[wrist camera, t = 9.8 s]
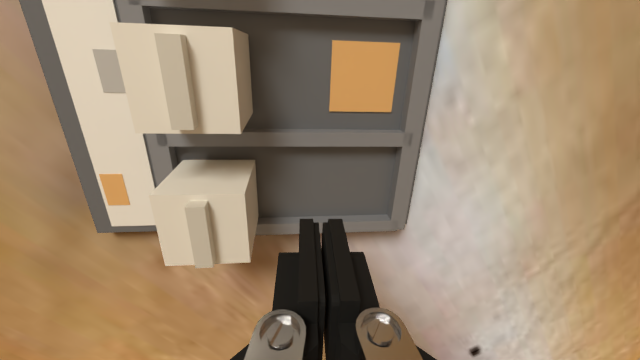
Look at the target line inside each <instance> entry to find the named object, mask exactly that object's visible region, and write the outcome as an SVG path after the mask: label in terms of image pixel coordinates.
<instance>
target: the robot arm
mask: <svg viewBox="0 0 640 360" xmlns="http://www.w3.org/2000/svg"><path fill="white" fill-rule="evenodd" d="M323 336H324V341H325V354H326V360H436V359H435V358H433V357H432V356H430V355H429V354H427V353H426V352H425V351H423V350H422V349H420V348H419V347H417V346H416V345H415V344H414V342H413V340H412V338H411V336H410V334H409V332H408V330H407V328H406V327H405V325H404V323H403V322H402V320H401V319H400V318H399V317H398V316H397V315H396V314H394V313H393V312H391V311H389V310H387V309H383V308H380V307H379V303H378V300H377V296H376V293H375V290H374V286H373V283H372V279H371V276H370V272H369V269H368V265H367V262H366V259H365V255H364V253H363V252H350V251H349V246H348V242H347V238H346V233H345V229H344V224H343V220H342V219H328V222H323V227H322V248H321V242H320V231H319V222H313V219H300V224H299V253H279V256H278V265H277V274H276V282H275V291H274V300H273V308H272V311H271V312H269V313H267V314H266V315H264V316H263V317H262V318H261V319H260V320H259V321H258V323H257V325H256V327H255V329H254V332H253V335H252V338H251V341H250V344H248V345H247V346H246V347H245V348H244V349H242V350H241V351H240V352H239V353H237V354H236V355H235V356H234V357H233V358H231V359H230V360H322V353H323Z"/></svg>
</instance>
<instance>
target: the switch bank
mask: <svg viewBox="0 0 640 360" xmlns="http://www.w3.org/2000/svg"><path fill="white" fill-rule="evenodd" d="M19 2H20V5H21V8H22V11H23V13H24V16H25V19H26V22H27V25H28V28H29V31H30V34H31V37H32V40H33V43H34V46H35V49H36V52H37V55H38V58H39V61H40V64H41V67H42V70H43V73H44V76H45V79H46V82H47V85H48V87H49V90H50V93H51V96H52V99H53V102H54V105H55V108H56V111H57V114H58V117H59V120H60V123H61V126H62V129H63V132H64V135H65V138H66V141H67V144H68V147H69V150H70V153H71V156H72V159H73V161H74V164H75V167H76V170H77V173H78V176H79V179H80V182H81V185H82V188H83V191H84V194H85V197H86V200H87V203H88V206H89V209H90V212H91V215H92V218H93V221H94V224H95V227H96V230H97V233H108V232H142V231H157V228H156V224H155V220H154V216H153V212H152V207H151V203H150V199H149V195H150V194H151V193H152V192H153V191H154V189H155V188H156V187H157V186H158V185H159V184H160V183H161V182H162V181H163V180H164V179H165V178H166V177H167V176H168V175H169V174H170V173H171V172H172V171H173V170H174V169H175V168H176V167H177V166H178V165H179V164H180V163H181V162H182V161H183V160H255V167H256V183H257V198H258V214H259V217H258V222H257V228H256V234H255V235H279V234H299V224H300V219H313V222H319V231H320V233H322V227H323V222H328V219H342V220H343V224H344V229H345V232H374V231H397V230H398V229H404V227H405V224H407V218H408V213H409V208H410V202H411V197H412V191H413V186H414V180H415V175H416V169H417V164H418V158H419V153H420V147H421V142H422V136H423V131H424V125H425V120H426V114H427V109H428V103H429V98H430V93H431V87H432V82H433V76H434V71H435V65H436V60H437V54H438V49H439V43H440V38H441V32H442V27H443V21H444V16H445V10H446V5H447V0H19ZM109 22H119V23H142V24H165V25H188V26H210V27H232V28H235V29H237V30H239V31H242V32H244V33H246V34H248V40H249V56H250V72H251V88H252V104H253V114H252V115H251V117H250V119H249V121H248V122H247V124H246V126H245V128H244V129H243V131H242V133H241V134H147V133H135V129H134V125H133V121H132V117H131V112H130V108H129V104H128V100H127V95H126V91H125V87H124V82H123V78H122V74H121V70H120V65H119V61H118V57H117V53H116V48H115V44H114V40H113V36H112V31H111V27H110V23H109Z"/></svg>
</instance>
